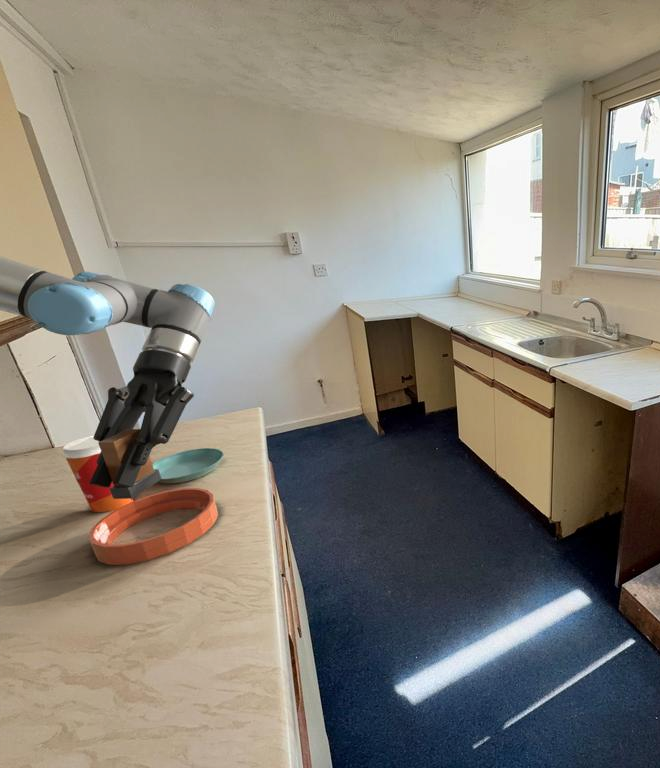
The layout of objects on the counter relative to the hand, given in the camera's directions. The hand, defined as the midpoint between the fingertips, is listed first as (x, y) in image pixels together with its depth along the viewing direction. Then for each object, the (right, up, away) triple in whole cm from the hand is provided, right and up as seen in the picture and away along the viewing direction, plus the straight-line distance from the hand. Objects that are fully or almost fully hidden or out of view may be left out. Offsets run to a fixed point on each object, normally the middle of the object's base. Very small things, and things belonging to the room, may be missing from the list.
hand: (111, 485), depth 63 cm
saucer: (-14, -5, +33) cm, 36 cm away
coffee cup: (-19, -10, +19) cm, 29 cm away
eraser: (0, -2, +5) cm, 5 cm away
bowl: (-2, -12, +11) cm, 17 cm away
